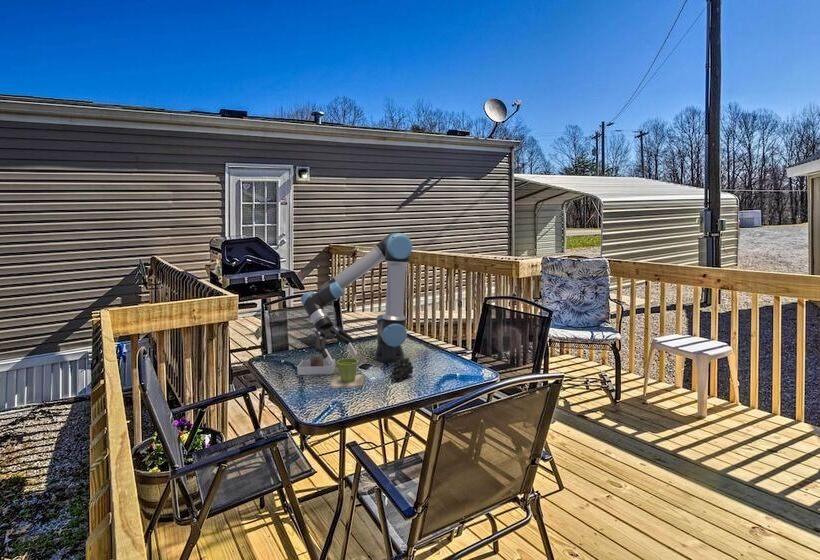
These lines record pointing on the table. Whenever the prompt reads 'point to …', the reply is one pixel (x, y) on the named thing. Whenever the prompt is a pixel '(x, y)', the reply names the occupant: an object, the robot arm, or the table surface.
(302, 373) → the grey tray
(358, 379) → the ash board
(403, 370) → the fruit
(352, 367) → the plant pot
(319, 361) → the walnut block
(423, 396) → the table surface
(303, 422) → the table surface
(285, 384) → the table surface
